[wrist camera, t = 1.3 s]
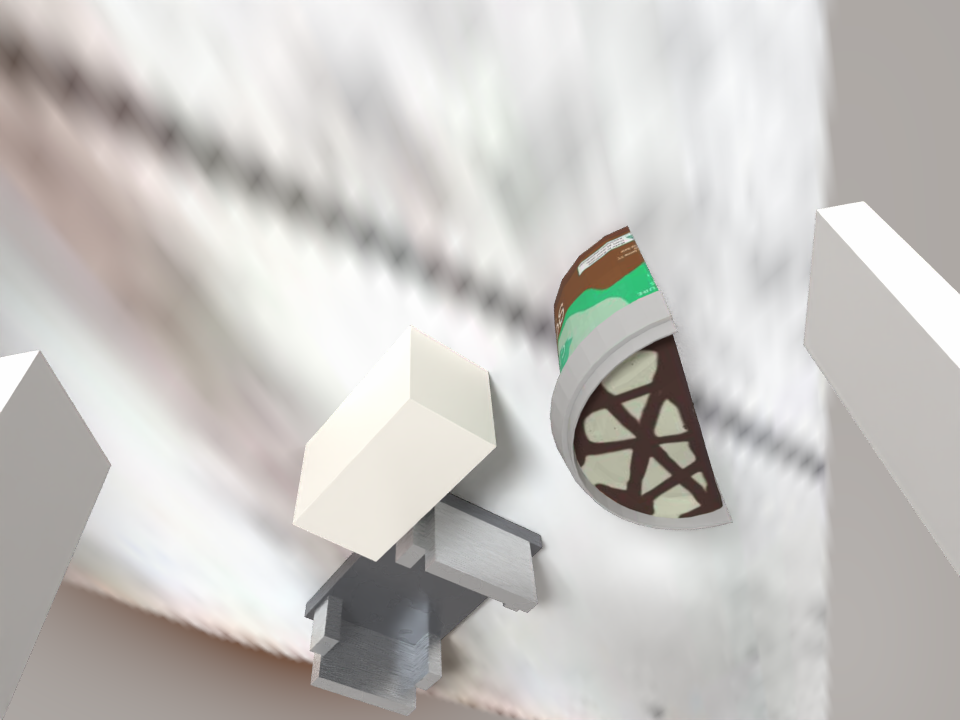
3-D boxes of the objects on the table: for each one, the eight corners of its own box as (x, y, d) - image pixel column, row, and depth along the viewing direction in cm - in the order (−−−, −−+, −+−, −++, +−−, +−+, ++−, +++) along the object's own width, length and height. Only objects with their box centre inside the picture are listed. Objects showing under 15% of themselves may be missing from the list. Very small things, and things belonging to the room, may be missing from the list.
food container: (494, 244, 38) (514, 373, 30) (619, 198, 37) (674, 319, 29) (571, 424, 45) (603, 567, 37) (678, 390, 44) (735, 530, 36)
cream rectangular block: (380, 480, 47) (376, 561, 42) (306, 443, 45) (292, 524, 40) (487, 369, 43) (496, 446, 38) (411, 323, 41) (409, 398, 36)
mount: (420, 645, 57) (420, 720, 52) (306, 604, 53) (295, 680, 49) (540, 535, 50) (551, 609, 46) (420, 479, 47) (419, 554, 43)
